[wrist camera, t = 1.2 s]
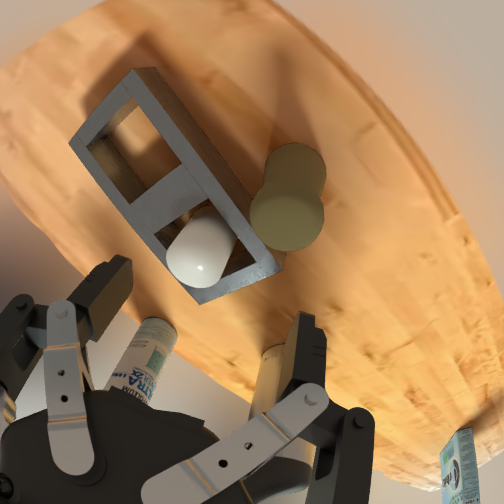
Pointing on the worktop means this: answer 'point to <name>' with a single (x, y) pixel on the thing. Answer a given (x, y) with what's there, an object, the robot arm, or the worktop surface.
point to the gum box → (460, 470)
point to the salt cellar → (201, 249)
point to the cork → (290, 198)
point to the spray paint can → (144, 359)
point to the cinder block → (172, 180)
